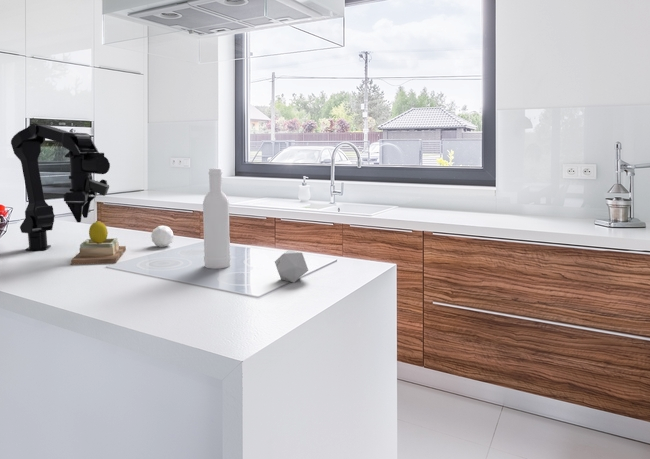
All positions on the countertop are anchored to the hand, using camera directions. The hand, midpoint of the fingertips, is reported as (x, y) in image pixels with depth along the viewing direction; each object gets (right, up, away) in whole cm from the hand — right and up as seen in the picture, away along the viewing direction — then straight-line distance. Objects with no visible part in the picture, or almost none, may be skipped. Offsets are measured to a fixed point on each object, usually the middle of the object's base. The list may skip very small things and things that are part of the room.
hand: (82, 219), depth 171 cm
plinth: (+6, -12, 0) cm, 14 cm away
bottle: (+47, -15, -10) cm, 50 cm away
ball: (+21, -10, +18) cm, 29 cm away
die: (+70, -17, -25) cm, 77 cm away
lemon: (+6, -8, -1) cm, 10 cm away
